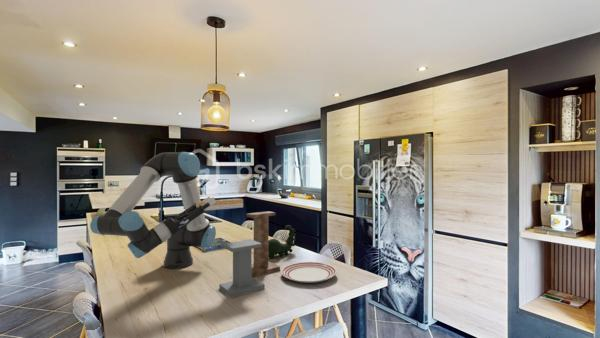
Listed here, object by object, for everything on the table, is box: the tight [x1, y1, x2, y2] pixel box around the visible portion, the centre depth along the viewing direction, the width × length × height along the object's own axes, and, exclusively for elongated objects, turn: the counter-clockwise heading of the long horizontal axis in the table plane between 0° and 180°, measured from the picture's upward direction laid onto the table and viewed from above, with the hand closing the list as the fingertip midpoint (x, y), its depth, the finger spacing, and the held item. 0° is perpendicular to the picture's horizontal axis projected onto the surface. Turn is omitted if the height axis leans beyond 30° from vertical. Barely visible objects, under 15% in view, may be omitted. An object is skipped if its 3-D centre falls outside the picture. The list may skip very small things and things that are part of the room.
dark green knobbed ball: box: [268, 224, 297, 259], centre depth 187 cm, size 9×19×25 cm
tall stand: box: [246, 210, 281, 278], centre depth 161 cm, size 16×12×30 cm
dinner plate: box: [280, 261, 338, 284], centre depth 153 cm, size 27×27×3 cm
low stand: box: [219, 239, 266, 299], centre depth 136 cm, size 16×12×20 cm
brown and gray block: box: [196, 198, 244, 211], centre depth 147 cm, size 22×4×4 cm, turn 127°
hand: (212, 199), depth 144 cm, fingers closed on brown and gray block, 4 cm apart
